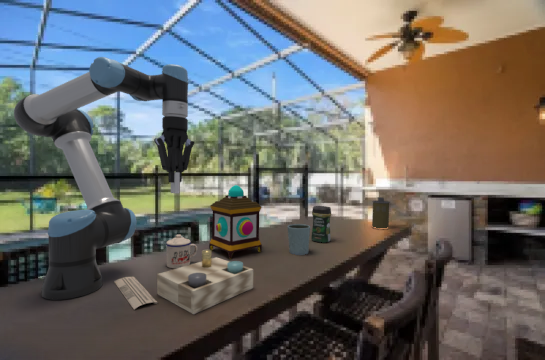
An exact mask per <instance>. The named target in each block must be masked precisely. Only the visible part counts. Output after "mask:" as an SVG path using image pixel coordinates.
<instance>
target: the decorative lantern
mask: <svg viewBox="0 0 545 360" xmlns="http://www.w3.org/2000/svg"><path fill="white" fill-rule="evenodd" d="M244 193H245V192H244V190H243V188H242V187H241V186H240V185H238V184H235V185H232V186H231V187H230V189H229V190H228V194H226V195H225V196H223V198H221V199H219V200H217V201H214V202H212V204H211V205H209V206H210V209H211V211H212V236H211V239H210V241H209V245H208V247H209V249H210V250H212V251H213V250H214V247H215V248H217V249H220V250H222V251H224V252H227V253H228V259H229V260H231V259H232V258H233V255H234V253H235V252H240V251H245V250H246V251H247V250H249V249H254V248H257V251H258V253H261V252H262V250H263V244H262V242H261V240H260V212H261V210H262V208H263V207H262V205H260V203H258V202H257V201H253V200H252V199H250V198H249V197H248V196H247V195H245V194H244Z"/></svg>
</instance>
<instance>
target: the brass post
mask: <svg viewBox="0 0 545 360" xmlns="http://www.w3.org/2000/svg"><path fill="white" fill-rule="evenodd" d="M212 253H213V250H210V249H208V248H207V249H203V250H201V262H202V267H204V268H208V267H211V262H212V258H213V257H212V256H213V255H212Z"/></svg>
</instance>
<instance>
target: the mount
mask: <svg viewBox="0 0 545 360" xmlns="http://www.w3.org/2000/svg"><path fill="white" fill-rule="evenodd" d="M228 262H231V261H230V260H226V259H223V258H221V257H220V258H219V257H217V256H216V257H212V262H211V267H208V268H204V267H202V261H198V262H196V263H192V264H191V263H190V265H187V266H184V267H180V268H172V269H170V270H167V271H164V272H160V273H156V275H157V277H156V279H157V281H156V282H157V284H156V285H157V286H156V287H157V289H156V290H157V291H156V293H157V295H158V296H160V297H161V298H163V299H166V301H169V302H170V303H173V305H176V306H177V307H180V308H181V309H183V310H185V311H187V312H188V313H190V314H192V315H195V314H198V313H199V312H203V311H204V310H207V309H210V308H211V307H213V306H215V305H218V304H220V303H222V302H224V301H227V300H229V299H231V298H233V297H236V296H238V295H240V294H241V295H242V294H243V293H245V292H247V291H250V290H252V289H254V269H253V268H251V267H248V266H245V265H243V272H240V273H237V274H232V273H229V272H227V263H228ZM193 273H205V274H206V285H204V286H201V287H198V288H196V289H194V288H192V287H189V286H188V276H189V275H190V274H193Z"/></svg>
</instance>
